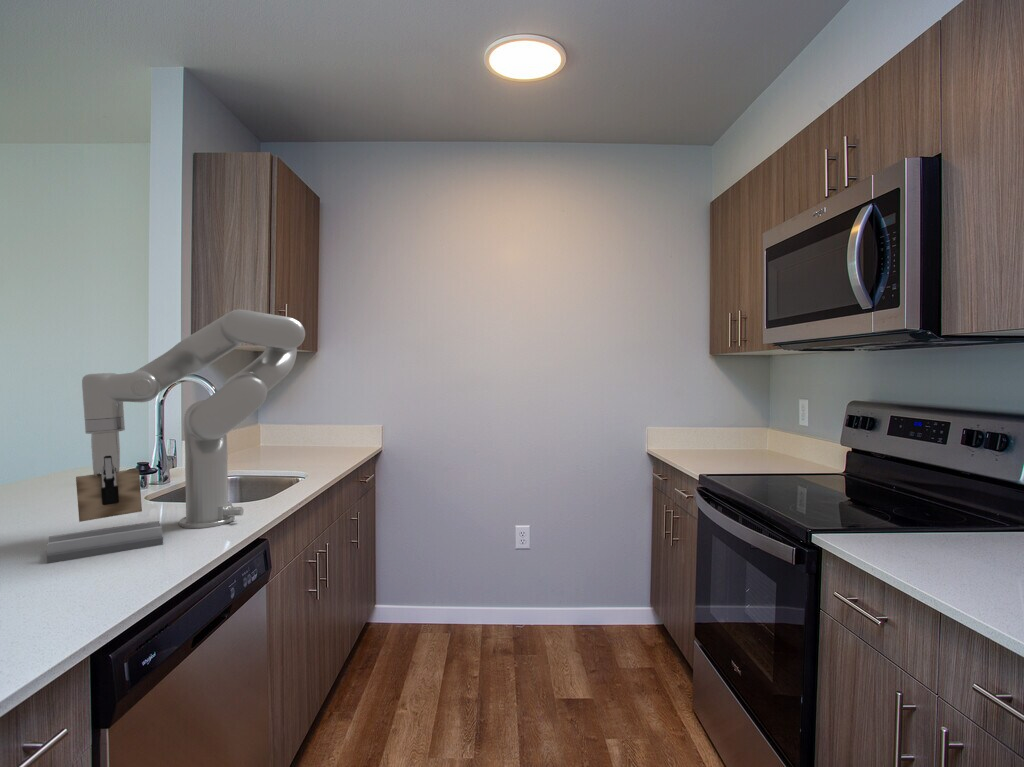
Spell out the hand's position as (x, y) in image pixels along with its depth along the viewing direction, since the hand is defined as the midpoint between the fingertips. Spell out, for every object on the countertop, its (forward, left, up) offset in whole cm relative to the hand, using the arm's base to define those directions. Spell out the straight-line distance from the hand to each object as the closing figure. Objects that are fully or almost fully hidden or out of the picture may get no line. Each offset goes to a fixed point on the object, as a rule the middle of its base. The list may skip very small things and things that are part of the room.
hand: (110, 501), depth 131 cm
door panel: (0, 0, -3) cm, 3 cm away
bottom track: (-5, +10, -8) cm, 14 cm away
